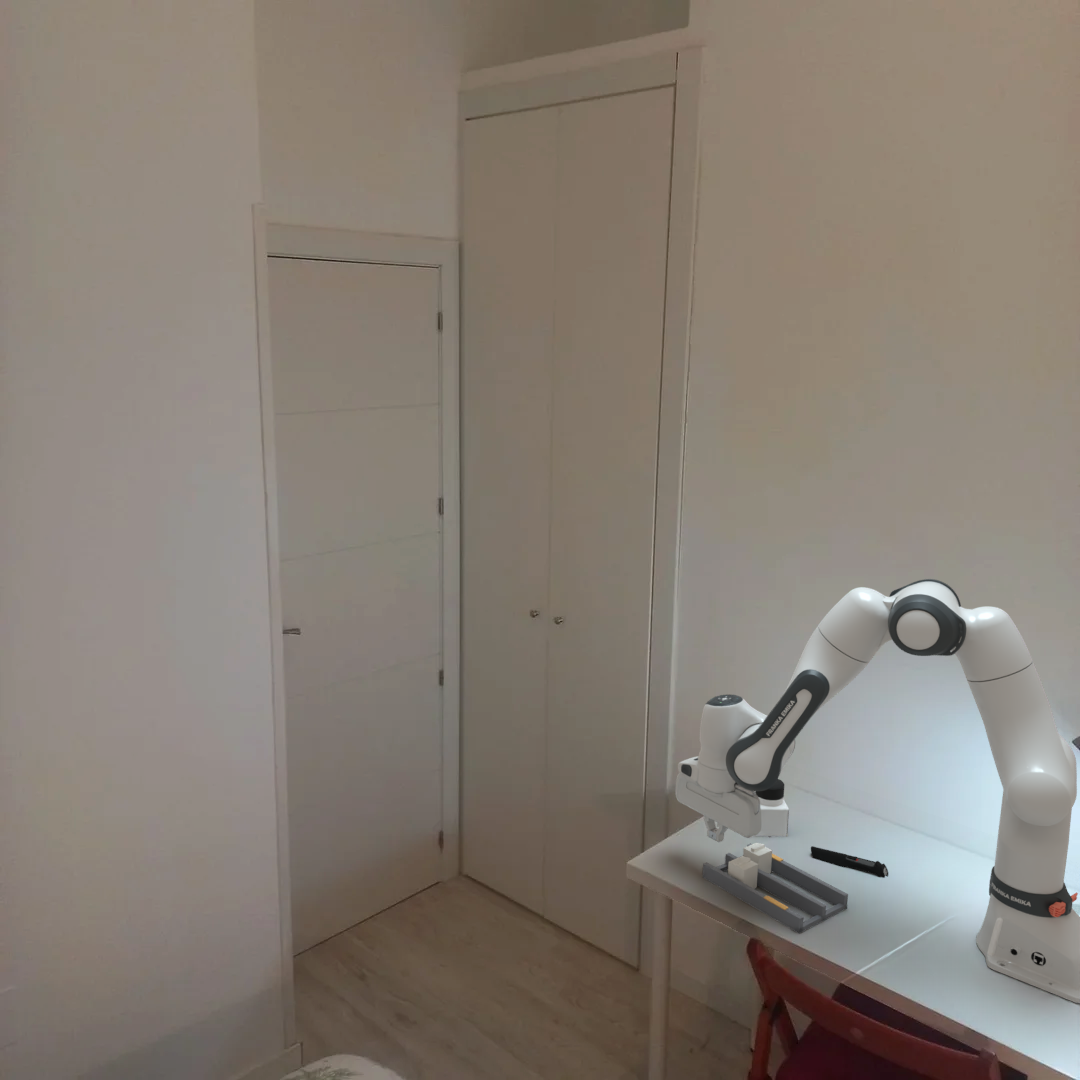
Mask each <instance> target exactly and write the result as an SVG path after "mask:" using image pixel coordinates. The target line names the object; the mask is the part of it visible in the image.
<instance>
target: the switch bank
mask: <svg viewBox="0 0 1080 1080" xmlns="http://www.w3.org/2000/svg"><path fill="white" fill-rule="evenodd" d="M750 845H752V843H747V845H746V847H747V846H750ZM741 856H742V855H741ZM741 856H739V857H741ZM739 857H737V855H734V854H732V853H731V852H727V853H725V857H724V858H725V859H724V861H725V862H724V863H721V864H720V865H718V866H714V865H713V864H710V863H709V862H704V863H702V878H703V879H705V880H706V881H708V882H710V883H712V884H713V885H715V886H717V887H718V888H720V889H721V890H724V891H725V892H727V893H729V894H730V895H732V896H734V897H736V898H737V899H739V900H741V901H743V902H744V903H745V904H747V905H750V906H751V907H753V908H754V909H756V910H758V911H760V912H761V913H763V914H765V915H766V916H768V917H770V918H772V919H773V920H775V921H777V922H778V923H780V924H782V925H784V926H786V927H787V928H789V929H790V930H792V931H793V932H796V933H798V934H802V933H803V932H805V931H807V930H808V929H810V928H813V927H815V926H816V925H819V924H820V923H822V922H824V921H825V920H827V919H831V917H834V916H835V915H837V914H840V913H841V912H843V911H845V910H846V909H848V900H849V899H848V898H849V894H848V893H847V892H845V891H843V890H841V889H839V888H837V887H835V886H833V885H832V884H831V883H828V882H826V881H824V880H822V879H820V878H818V877H816V876H814V875H812V874H811V873H808V872H807V871H805V870H803V869H800V868H799V867H797V866H795V865H793V864H791V863H789V862H787V861H786V860H784V859H783V858H782V857H779V856H777V854H774V853H772V863H771V873H774V874H775V875H778V877H779V876H780V877H781V878H783V879H785V880H787V881H789V882H790V883H793V884H795V886H798V887H800V888H802V889H803V890H806V891H807V892H809V893H811V894H813V895H815V896H817V897H818V898H821V899H822V900H825V902H828V903H829V904H832V905H833V906H831V907H829V908H828V909H827V905H826V904H825V903H823V902H822V901H819V900H817V899H815V898H814V897H811V896H810V895H808V894H806V893H804V892H803V891H801V890H800V889H797V888H795V887H793V886H791V885H789V884H788V883H786V882H784V881H783V880H780V879H778V878H777V877H775V876H773V875H771V874H768V873H766V872H764V871H762V870H760V869H758V874H757V887H759V888H761V889H763V890H765V891H766V892H768V893H770V894H772V895H773V896H775V897H777V898H779V899H780V900H782V901H785V902H786V903H788V904H790V905H791V906H793V907H795V908H796V909H798V910H800V911H802V912H804V913H806V914H808V915H810V918H809V919H806V920H804V919H805V918H804V916H803V915H801V914H799V913H797V911H794V910H792V909H790V908H789V906H787V905H785V904H784V903H781V902H780V901H779V900H776V899H775V898H773V897H772V896H769V895H766V894H764V893H762V892H760V891H758V890H757V889H756V888H755V889H753V888H751V887H750V886H748V885H746V884H744V883H743V882H741V881H739V880H737V879H735V878H734V877H732V876H730V875H728V872H727V871H728V864H729V861H732V860H734V859H736V858H739Z"/></svg>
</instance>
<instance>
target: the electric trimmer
mask: <svg viewBox="0 0 1080 1080" xmlns="http://www.w3.org/2000/svg"><path fill="white" fill-rule="evenodd" d="M810 846H811V845H810ZM810 852H811V857H812V859H815V860H818V861H821V862H824V863H828V864H830V865H834V866H838V867H841V868H849V869H852V870H853V869H854V870H856V871H861V872H864V873H869V874H872V875H876V876H877V877H878V878H884V879H885V878H886V877H889V870H888V868H887V866H886V864H885V863H881V862H880V861H879V860H876V861H873V860H870V859H865V858H861V857H858V856H854V855H849V854H846V853H843V852H842V853H841V852H838V851H835V850H829V849H825V848H821V847H817V846H814V845H813V846H811V847H810Z"/></svg>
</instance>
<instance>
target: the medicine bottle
mask: <svg viewBox="0 0 1080 1080" xmlns="http://www.w3.org/2000/svg"><path fill="white" fill-rule="evenodd" d="M755 794H756V795H757V796H758V798H759V799H760V807H761V831H760V832H759V833H758V834H757V835H755V836H754V837H769V838H772V837H788V829H789V828H788V827H789V815H790V814H789V813H790V812H789V811H790V809H789V806H788V804H787V803H786V801H785V798H784V797H785V795H784V794H785V782H783V780H781V779H780V778H778V779H777V781H776V783H775V784H774V785H773V786H772V787H771V788H769V789H767V790H764V791H755Z"/></svg>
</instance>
